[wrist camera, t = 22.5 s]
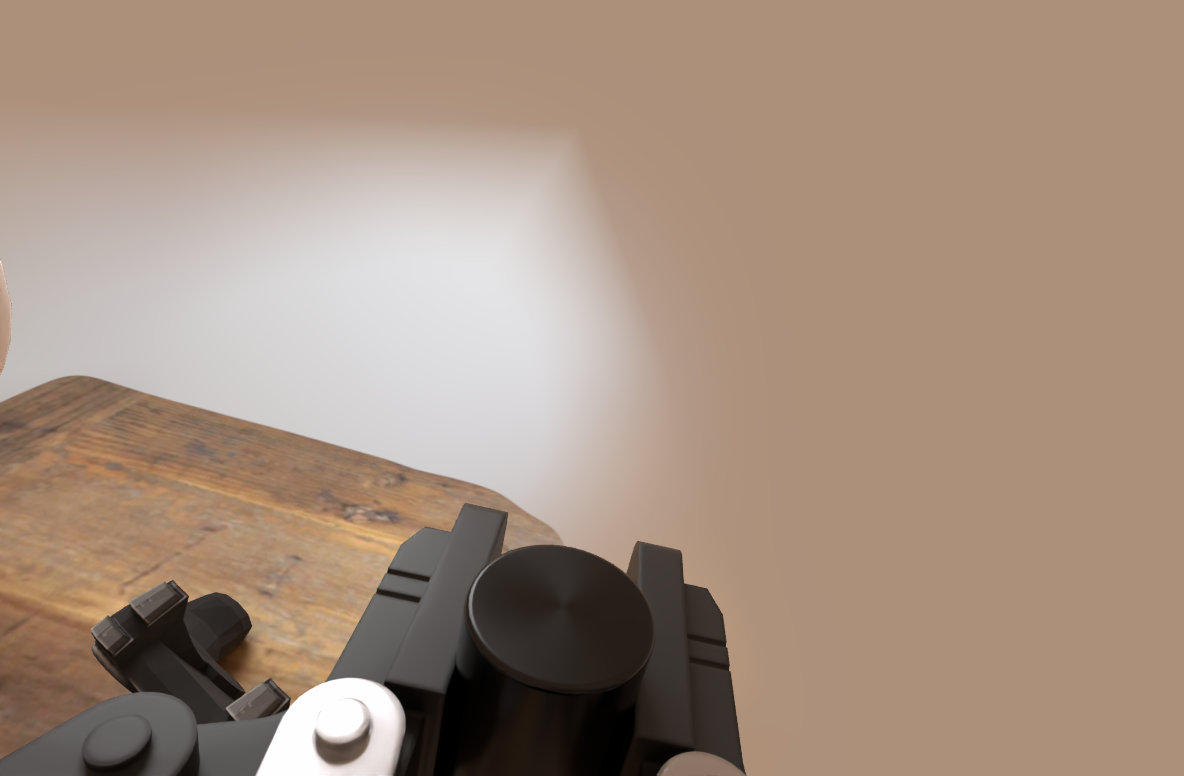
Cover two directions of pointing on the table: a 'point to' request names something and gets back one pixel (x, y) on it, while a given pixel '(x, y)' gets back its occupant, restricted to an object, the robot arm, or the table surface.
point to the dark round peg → (546, 666)
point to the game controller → (184, 653)
